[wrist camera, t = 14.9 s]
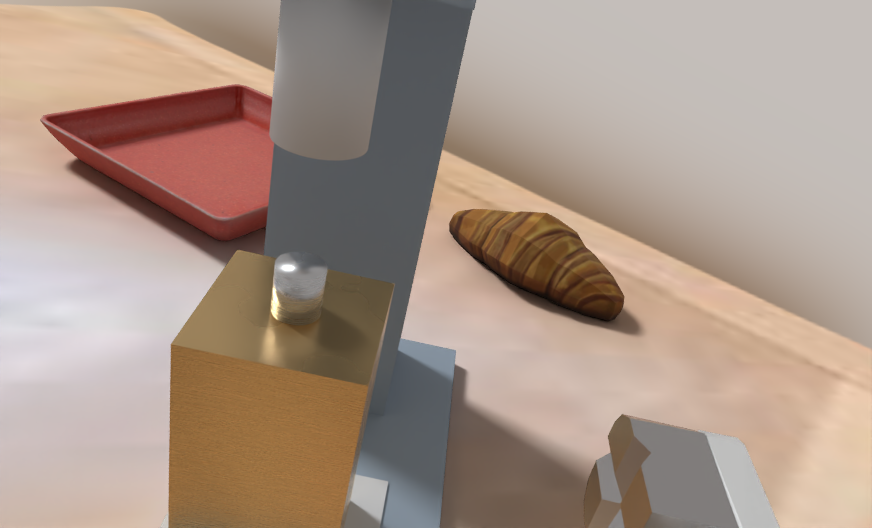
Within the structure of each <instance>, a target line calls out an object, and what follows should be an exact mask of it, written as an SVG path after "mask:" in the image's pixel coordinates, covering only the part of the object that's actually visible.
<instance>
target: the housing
mask: <svg viewBox="0 0 872 528" xmlns="http://www.w3.org/2000/svg"><path fill="white" fill-rule="evenodd" d="M394 285H395V284H394V283H389V282H385V281H380V280H375V279H371V278H366V277H362V276H357V275H352V274H348V273H343V272H339V271H334V270H329V269H327V264H326V262H325V261H324V260H323V259H321V258H320V257H318V256H316V255H313V254H310V253H306V252H289V253H285V254H282V255H280V256H279V257H278V258H274V257H270V256H265V255H260V254H256V253H251V252H247V251H242V250H237V251H236V252H235V254H234V255H233V256H232V258H231V259H230V261H229V262H228V264H227V265H226V266H225V268H224V269H223V271H222V272H221V274H220V275H219V276H218V278H217V279H216V281H215V282H214V284H213V285H212V286H211V288H210V289H209V291H208V292H207V294H206V295H205V296H204V298H203V299H202V301H201V302H200V303H199V305H198V306H197V308H196V309H195V311H194V312H193V313H192V315H191V316H190V318H189V319H188V321H187V322H186V323H185V325H184V326H183V328H182V329H181V331H180V332H179V333H178V335H177V336H176V338H175V339H174V341H173V342H172V343H171V379H170V448H169V516H168V528H344V525H345V521H346V516H347V512H348V508H349V504H350V500H351V495H352V490H353V485H354V480H355V475H356V470H357V466H358V461H359V456H360V451H361V446H362V441H363V436H364V431H365V427H366V422H367V417H368V412H369V407H370V402H371V397H372V392H373V388H374V383H375V378H376V373H377V368H378V363H379V358H380V353H381V349H382V344H383V339H384V334H385V329H386V324H387V319H388V314H389V310H390V305H391V300H392V295H393V290H394Z"/></svg>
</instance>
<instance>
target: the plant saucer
mask: <svg viewBox="0 0 872 528" xmlns="http://www.w3.org/2000/svg"><path fill="white" fill-rule="evenodd" d="M271 109H272V97H271V96H268V95H266V94H264V93H261V92H259V91H257V90H254V89H252V88H250V87H247V86H244V85H239V84H234V85H227V86H221V87H214V88H208V89H202V90H195V91H190V92H182V93H176V94H171V95H164V96H158V97H152V98H146V99H139V100H134V101H128V102H122V103H116V104H109V105H102V106H97V107H91V108H84V109H78V110H73V111H65V112H60V113H53V114H48V115H44V116H42V118H41V119H40V121H41V122H42V123H43V125H44V126H45V127H46V128H47V129H48V131H49V132H50V133H51V134H52V135H53V136H54V137H55V138H56V139H57V140H58V141H59V142H60V143H61V144H63V145H64V146H65V147H66V148H67V149H68V150H69V151H70V152H71V153H73V154H74V155H75V156H76V157H77V158H78V159H80V160H81V161H82V162H84V163H86V164H88V165H89V166H91V167H93V168H94V169H96V170H98V171H99V172H101V173H103V174H105V175H106V176H108V177H110V178H112V179H114V180H115V181H117V182H119V183H121V184H122V185H124V186H126V187H127V188H129V189H131V190H133V191H134V192H136V193H138V194H140V195H141V196H143V197H145V198H146V199H148V200H150V201H152V202H153V203H155V204H157V205H158V206H160V207H162V208H164V209H165V210H167V211H169V212H171V213H172V214H174V215H176V216H177V217H179V218H181V219H183V220H184V221H186V222H188V223H189V224H191V225H193V226H194V227H196V228H198V229H199V230H201V231H203V232H205V233H206V234H208V235H210V236H212V237H213V238H215V239H217V240H222V241H228V240H232V239H235V238H238V237H240V236H243V235H245V234H248V233H251V232H253V231H256V230H258V229H261V228H263V227H266V225H267V214H268V203H269V192H270V181H271V170H272V159H273V148H274V142H273V141H272V140H271V138H270V135H269V132H270V120H271Z"/></svg>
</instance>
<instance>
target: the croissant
mask: <svg viewBox="0 0 872 528" xmlns="http://www.w3.org/2000/svg"><path fill="white" fill-rule="evenodd" d="M449 229H450V233H451V234H452V235H453V237H454V238H455V239H456V240H457V242H458V243H459V244H460V245H461V246H462V247H463V248H464V249H465V250H467V251H468V252H469V253H470V254H471V255H472V256H473V257H475V258H476V259H478V260H480V261H482V262H483V263H485V264H486V265H487V266H488V267H489V268H490V269H492V270H493V271H494V272H496V273H497V274H498V275H500V276H501V277H502V278H504V279H505V280H507V281H508V282H509V283H511V284H513V285H516V286H518V287H520V288H522V289H525V290H527V291H529V292H531V293H534V294H536V295H539V296H542V297H544V298H547V299H549V300H550V301H552V302H554V303H556V304H557V305H560V306H562V307H565V308H568V309H570V310H573V311H576V312H578V313H581V314H584V315H587V316H591V317H595V318H599V319H603V320H608V321H610V320H613V319H615V318H616V317H617V315H618V314H619V313H620V312H621V310H622V308H623V304H624V295H623V293H622V291H621V290H620V288H619V286H618V284H617V283H616V281H615V279H614V277H613V276H612V275H611V273H610V272H609V271H608V270H607V269H606V268H605V266H604V265H603V264H602V263H601V262H600V261H599V259H598V258H597V257H596V256H595V255H594V254H593V253H592V252H591V251H590V250H588V249H587V248H586V247H585V245H584V244H583V242H582V240H581V239H580V237H579V235H578V234H577V232H575V231H574V230H573V229H571V228H570V227H569V226H567V225H566V224H564V223H563V222H562V221H560V220H559V219H557V218H555V217H553V216H551V215H549V214H548V213H537V212H515V213H514V212H508V211H497V210H487V209H472V210H465V211H458V212H457V213H456V214H454V215H453V217H452V219H451V221H450V223H449Z"/></svg>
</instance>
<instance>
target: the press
mask: <svg viewBox="0 0 872 528" xmlns="http://www.w3.org/2000/svg"><path fill="white" fill-rule="evenodd" d="M475 3H476V0H281V6H280V17H279V28H278V40H277V51H276V63H275V74H274V86H273V97H272V109H271V120H270V132H269V135H270V138H271V140H272V141H273V142H274V148H273V159H272V170H271V181H270V192H269V203H268V214H267V225H266V236H265V247H264V255H265V256H270V257H274V258H278V257H279V256H280V255H282V254H285V253H289V252H306V253H310V254H313V255H316V256H318V257H320V258H321V259H323V260H324V261H325V262H326V264H327V269H329V270H334V271H339V272H343V273H348V274H352V275H357V276H362V277H366V278H371V279H375V280H380V281H385V282H389V283H394V284H395V285H394V290H393V295H392V300H391V305H390V310H389V314H388V319H387V324H386V329H385V334H384V339H383V344H382V349H381V353H380V358H379V363H378V368H377V373H376V378H375V383H374V388H373V392H372V397H371V402H370V407H369V412H368V417H367V422H366V427H365V431H364V436H363V441H362V446H361V451H360V456H359V461H358V466H357V470H356V475H355V480H354V485H353V490H352V495H351V500H350V504H349V508H348V512H347V516H346V521H345V525H344V528H440V517H441V506H442V495H443V485H444V474H445V463H446V452H447V441H448V431H449V420H450V409H451V398H452V387H453V377H454V366H455V355H456V350H452V349H447V348H443V347H438V346H433V345H429V344H424V343H419V342H415V341H410V340H405V339H401V333H402V329H403V324H404V320H405V315H406V311H407V306H408V302H409V297H410V293H411V288H412V283H413V279H414V274H415V270H416V265H417V261H418V256H419V252H420V247H421V243H422V238H423V234H424V229H425V224H426V220H427V215H428V211H429V206H430V202H431V197H432V193H433V188H434V184H435V179H436V174H437V170H438V165H439V161H440V156H441V152H442V147H443V143H444V138H445V134H446V129H447V124H448V120H449V115H450V111H451V106H452V102H453V97H454V93H455V88H456V84H457V79H458V75H459V69H460V65H461V61H462V56H463V52H464V47H465V43H466V38H467V34H468V29H469V25H470V20H471V16H472V11H473V10H474V8H475ZM168 516H169V511H168V513H167V515H166V516H165V518H164V520H163V522H162V524H161V526H160V528H168Z"/></svg>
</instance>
